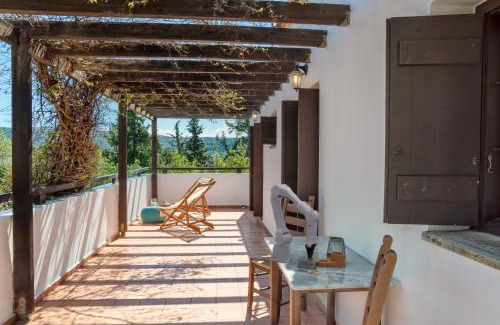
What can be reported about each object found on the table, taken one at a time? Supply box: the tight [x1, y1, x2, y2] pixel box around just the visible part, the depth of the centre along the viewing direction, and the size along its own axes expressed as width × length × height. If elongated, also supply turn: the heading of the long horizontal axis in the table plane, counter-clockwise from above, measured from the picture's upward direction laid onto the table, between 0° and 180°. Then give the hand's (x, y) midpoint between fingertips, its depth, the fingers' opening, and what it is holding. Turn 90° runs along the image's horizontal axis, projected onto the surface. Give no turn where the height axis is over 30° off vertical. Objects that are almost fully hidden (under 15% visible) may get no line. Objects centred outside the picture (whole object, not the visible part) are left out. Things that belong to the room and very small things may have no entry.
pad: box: [306, 269, 321, 276], centre depth 210 cm, size 6×6×1 cm
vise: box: [297, 255, 319, 270], centre depth 218 cm, size 10×11×5 cm
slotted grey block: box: [306, 254, 314, 265], centre depth 219 cm, size 3×5×7 cm, turn 163°
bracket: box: [313, 251, 346, 268], centre depth 226 cm, size 18×8×7 cm, turn 105°
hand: (310, 257), depth 219 cm, fingers closed on slotted grey block, 2 cm apart
